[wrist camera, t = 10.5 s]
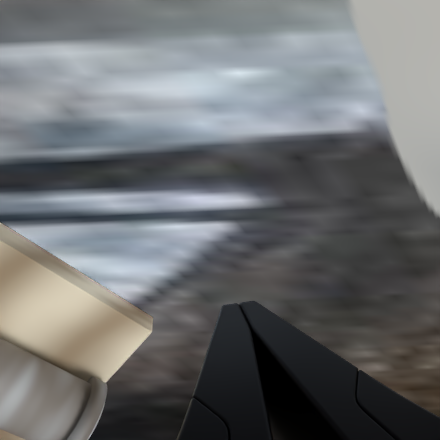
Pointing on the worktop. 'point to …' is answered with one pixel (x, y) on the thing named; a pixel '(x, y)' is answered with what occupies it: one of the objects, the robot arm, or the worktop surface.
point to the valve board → (57, 343)
